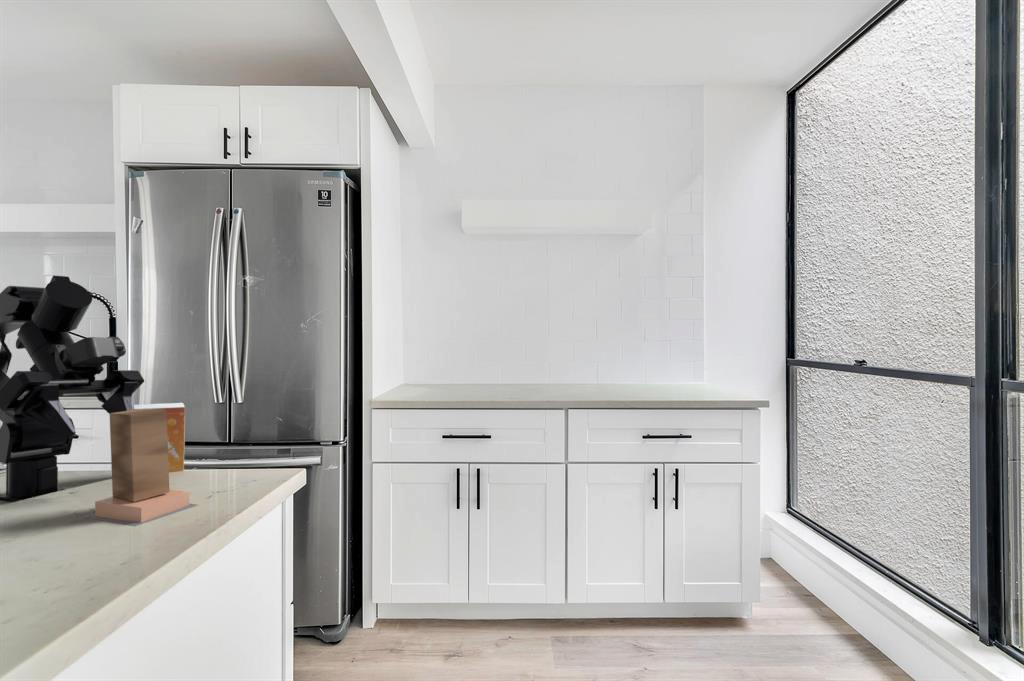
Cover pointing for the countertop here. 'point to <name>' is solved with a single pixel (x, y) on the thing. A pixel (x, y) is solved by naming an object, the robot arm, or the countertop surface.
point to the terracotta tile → (142, 506)
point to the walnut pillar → (139, 454)
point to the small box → (172, 432)
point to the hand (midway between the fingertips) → (103, 432)
